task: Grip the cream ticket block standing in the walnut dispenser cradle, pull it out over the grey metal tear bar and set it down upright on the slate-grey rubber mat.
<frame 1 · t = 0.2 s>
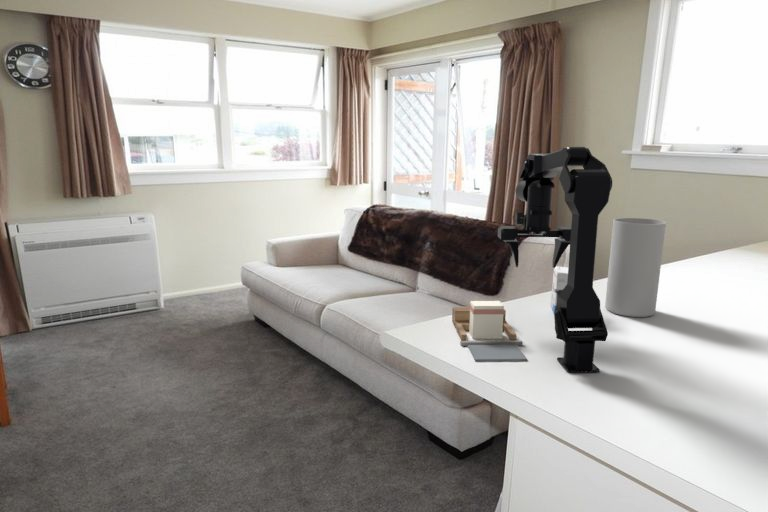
hand: (535, 267, 128), 14 cm above the kitchen counter, fingers open, 9 cm apart
mat: (496, 353, 111), on the kitchen counter
ticket block: (485, 335, 122), resting in cradle
cradle: (485, 335, 122), on the kitchen counter
cylinder vase: (629, 311, 140), on the kitchen counter
ink box: (561, 312, 140), on the kitchen counter
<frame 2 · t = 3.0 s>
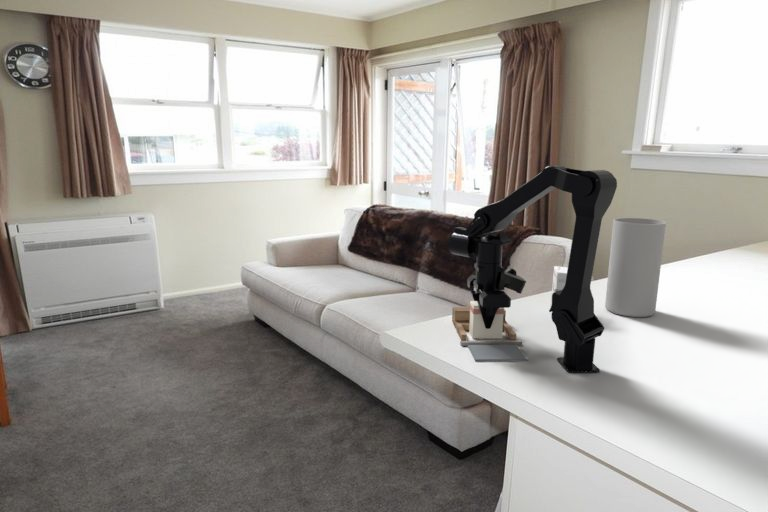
hand: (485, 325, 121), 3 cm above the kitchen counter, fingers closed on ticket block, 4 cm apart
ticket block: (485, 335, 122), resting in cradle, touching gripper
everything else where it was.
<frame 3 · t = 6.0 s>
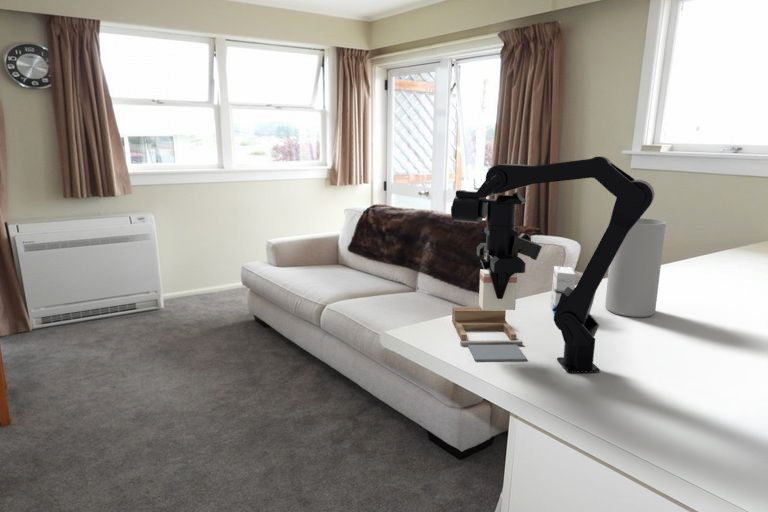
hand: (497, 295, 110), 12 cm above the kitchen counter, fingers closed on ticket block, 4 cm apart
ticket block: (496, 307, 111), point 10 cm above the kitchen counter, touching gripper
everything else where it was.
when the fingers open (4 cm above the kitchen counter, at t = 8.8 s): ticket block drops 1 cm, resting on mat.
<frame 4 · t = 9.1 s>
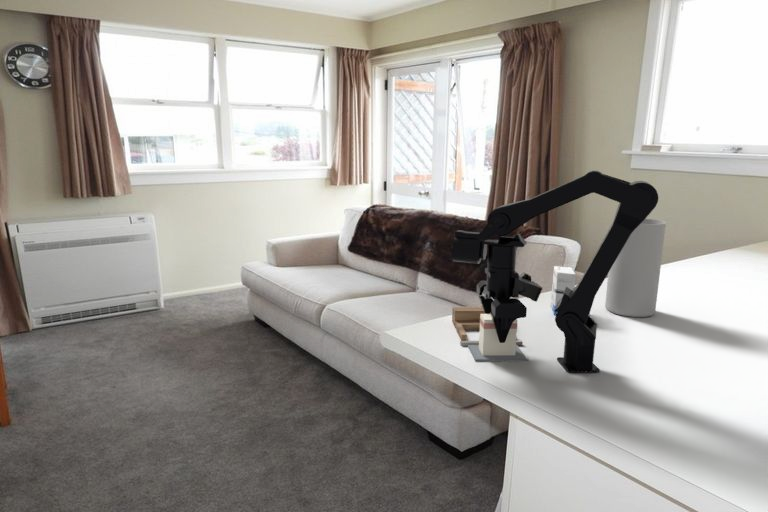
hand: (497, 336, 110), 4 cm above the kitchen counter, fingers open, 7 cm apart
ticket block: (496, 351, 111), resting on mat
everything else where it was.
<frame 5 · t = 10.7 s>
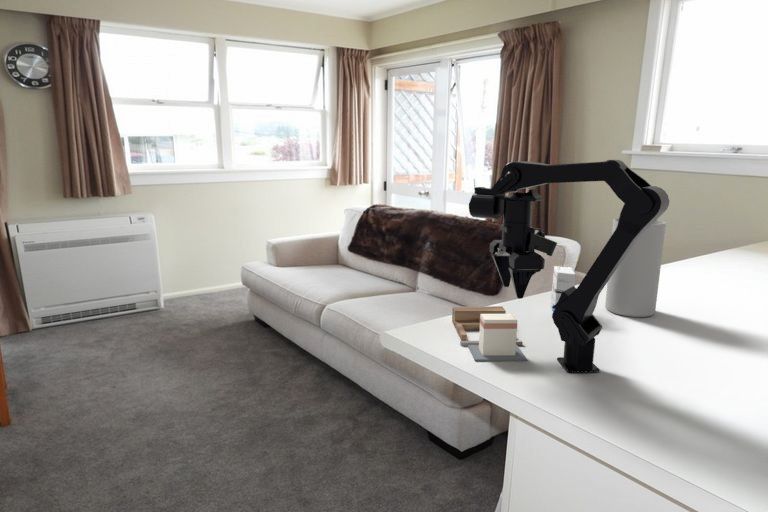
hand: (512, 292, 111), 13 cm above the kitchen counter, fingers open, 9 cm apart
nothing on the kitchen counter moved.
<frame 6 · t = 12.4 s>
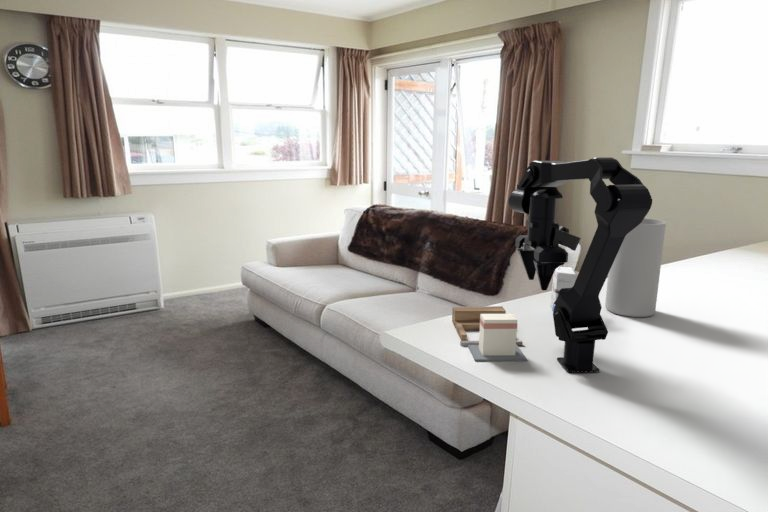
hand: (537, 284, 117), 13 cm above the kitchen counter, fingers open, 9 cm apart
nothing on the kitchen counter moved.
at the end: ticket block inside the target area (0.0 cm from its centre), resting on mat; ticket block tilted 0°; ticket block moved 11.0 cm from its start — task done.
